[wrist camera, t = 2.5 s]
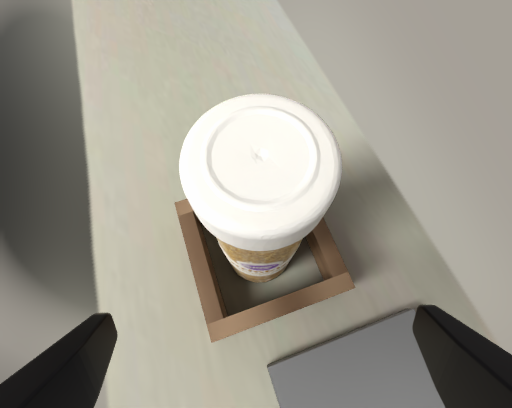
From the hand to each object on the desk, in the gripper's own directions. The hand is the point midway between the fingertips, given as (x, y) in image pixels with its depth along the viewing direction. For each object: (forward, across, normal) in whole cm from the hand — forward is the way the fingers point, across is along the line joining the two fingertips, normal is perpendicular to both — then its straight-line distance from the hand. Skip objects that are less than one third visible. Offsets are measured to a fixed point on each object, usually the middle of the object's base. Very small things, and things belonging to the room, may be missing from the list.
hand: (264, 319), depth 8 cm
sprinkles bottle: (+11, 0, +5) cm, 12 cm away
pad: (+4, -6, +12) cm, 14 cm away
